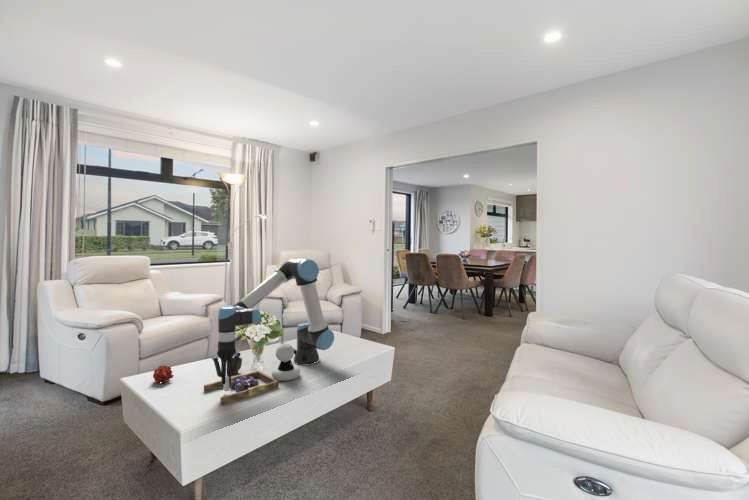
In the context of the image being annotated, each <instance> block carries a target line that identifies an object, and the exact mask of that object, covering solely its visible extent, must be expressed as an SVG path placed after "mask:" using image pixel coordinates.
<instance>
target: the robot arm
mask: <svg viewBox="0 0 749 500" xmlns="http://www.w3.org/2000/svg"><path fill="white" fill-rule="evenodd" d="M319 272H320V268H319V266H318V264H317V263H316V262H315V260H312V259H309V258H296V257H294V258H290V259H289V260H286V261H285V262H284V263H282V264H281V265H280V266H278V267H277V268H276V269H275V270H274V273H272V274H271V275H270V276H269V277H268V278H266V279H265V280H264V281H262V282H261V283H260V284H259V285H258V286H257V287H255V288H253V289H252V291H250V292H249V293H247V295H245V296H244V297H242V298H241V299H240V300H239V301H238V302H236V303H235V304H230V305H228V306H223V307H220V308H219V309H218V315H217V319H218V320H217V321H218V325H217V327H218V331H217V335H218V337H217V340H218V342H217V352H216V355H215V356H212V357H211V360H212V361H213V363H214V364H213V365H214V367H215V371H216V376H217V377H219V378H221V381H222V382H221V383H222V384H223V387H222V390H223V391H224V392H229V391H230V386H229V383H230V382H231V377H233V375H236V374H235V371H236V367H237V362H238V358H240V357H241V352H239V351H237V349H236V330H237V329H236V328H237V327H239V326H247V325H255V324H258V323H259V322H260V320H261V311H260V310H259V308H257V307H256V306H257V305H259V304H260V303H261V302H263V301H264V300H265V299H266V298H267V297H268V296H270V295H271V294H272V293H273V292H274V291H276V290H277V289H278V288H279V287H280V286H282V284H287V283H288V282H289V281H290V280H294V279H295V282H296V286H297V287H299V288H300V293H301V296H302V300H303V304H304V308H305V312H306V316H307V320H308V321H307V322H304V323H299V324H297V326H296V327H297V328H296V355H295V354H294V355H293V363H294V362H295V363H294V364H296V363H297V364H296V365H299V364H310V365H312V364H311V363H314V362H317V361H318V360H319V361H320V356H319V352H318V350H321V351H326V350H328V349H330V348H331V347H332V345H333V343H334V342H335V333H334V332H333V331H332V330H330V328H329V325H328V323H327V322H326V321H325V319H324V313H323V310H322V307H321V302H320V298H319V293H318V290H317V285H316V283H317V281H318V276H319ZM255 307H256V308H255ZM232 357H233V358H234V359H233V363H232ZM219 359H220V361H219ZM319 361H318V362H319ZM220 362H221V364H220ZM318 362H317V363H318ZM231 364H232V367H231Z"/></svg>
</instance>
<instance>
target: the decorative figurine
mask: <svg viewBox="0 0 749 500" xmlns="http://www.w3.org/2000/svg"><path fill="white" fill-rule="evenodd" d="M296 350H297V348H294V347H293V346H292V344H290V343H286V342H284V340H283V338H281V339H280V345H278V346H277V348H276V351H275V357H276V358H277V360H279V361H280V362H279V365H278V366H276V367H274V368H273V369H272V371H271V376H272V377H271V378H273V379H275V380H277V381H279V382H287V381H292V380H295V379H297V378H298V377H299V376H300V374H301V369H300V368H299V367H298V366H297V365H295V364H294V365H293V362H292V359H293V358H294V356H295V355H296Z"/></svg>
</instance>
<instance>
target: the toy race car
mask: <svg viewBox="0 0 749 500" xmlns="http://www.w3.org/2000/svg"><path fill="white" fill-rule="evenodd" d="M259 383H260V382H259V381H258V378H253V377H251V376H250V379H248V380H247V378H246V377H244V376H242V377H241V379H236V380H235V381H231V382H230V383H229V389H230V390H232V389H234V390H235V393H238V392H241V391H244V390H248V388H251V387H255V386H258V385H260V384H259Z"/></svg>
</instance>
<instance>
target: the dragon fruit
mask: <svg viewBox="0 0 749 500" xmlns="http://www.w3.org/2000/svg"><path fill="white" fill-rule="evenodd" d="M174 376H175V375H174V374H173V371H172V367H171V366H168V365H159V366H158V367H157V368H156V369H155V370H154V371H153V375H152V378H153V379H154V381H155V382H157V383H158V384H159V383H160V382H163V383H165V382H168V381H169V380H170V379H172V378H173V377H174ZM167 380H168V381H167ZM163 383H161V384H160V385H162V384H163Z"/></svg>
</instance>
